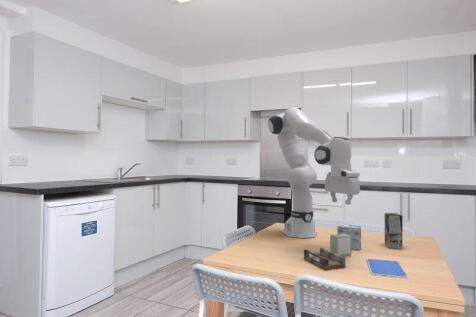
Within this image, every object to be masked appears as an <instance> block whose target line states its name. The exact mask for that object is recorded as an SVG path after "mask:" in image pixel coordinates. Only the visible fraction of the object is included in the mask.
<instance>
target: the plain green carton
mask: <svg viewBox="0 0 476 317" xmlns="http://www.w3.org/2000/svg"><path fill="white" fill-rule="evenodd" d="M329 251H331V252H333V253H335V254H338V255H340V256H343V257H345V258H346V256H347V257H351V256H352V249H351V236H350V235H347V234H337V233H336V234H330V235H329Z"/></svg>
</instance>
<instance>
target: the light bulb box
mask: <svg viewBox="0 0 476 317" xmlns="http://www.w3.org/2000/svg"><path fill="white" fill-rule="evenodd" d="M336 231H337V233H336V234H347V235H350V236H351V250H355V251H356V250H358V251H360V250H361V248H362V226H361V225H357V224H343V223H339V224H338V225H337V229H336Z"/></svg>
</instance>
